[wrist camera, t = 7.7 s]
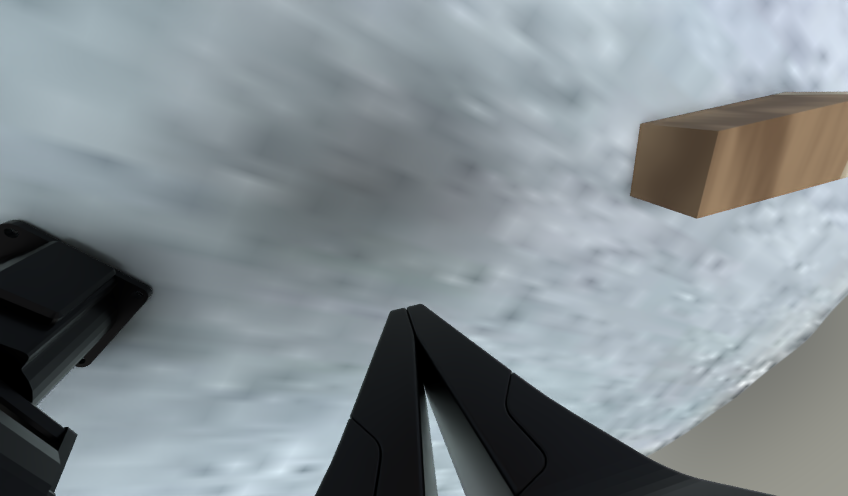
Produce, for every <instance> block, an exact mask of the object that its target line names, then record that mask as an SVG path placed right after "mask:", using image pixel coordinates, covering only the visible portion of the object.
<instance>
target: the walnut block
mask: <svg viewBox="0 0 848 496" xmlns="http://www.w3.org/2000/svg"><path fill="white" fill-rule="evenodd" d="M846 177H848V92H783V93H779V94H774V95H770V96H765V97H761V98H756V99H752V100H747V101H742V102H738V103H733V104H729V105H724V106H720V107H715V108H710V109H706V110H701V111H697V112H692V113H688V114H683V115H678V116H674V117H669V118H665V119H660V120H656V121H651V122H646V123H642V124H640V130H639V137H638V144H637V151H636V158H635V165H634V172H633V179H632V186H631V193H630V196H632V197H635V198H638V199H641V200H644V201H647V202H650V203H653V204H656V205H659V206H661V207H664V208H667V209H670V210H673V211H676V212H679V213H682V214H685V215H688V216H691V217H694V218H701V217H704V216H708V215H712V214H715V213H719V212H722V211H726V210H730V209H733V208H737V207H741V206H744V205H748V204H751V203H755V202H759V201H762V200H766V199H770V198H773V197H777V196H780V195H784V194H788V193H791V192H795V191H798V190H802V189H806V188H809V187H813V186H817V185H820V184H824V183H827V182H831V181H835V180H838V179H842V178H846Z"/></svg>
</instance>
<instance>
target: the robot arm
mask: <svg viewBox="0 0 848 496" xmlns="http://www.w3.org/2000/svg"><path fill="white" fill-rule="evenodd" d="M11 228H12V229H15V230H16V231H17V232H18V234H19V235H18V234H15V233H14V232H13V231H12V229H11ZM136 291H139V292H141V293H142V294H143V295H139V294H137V293H136ZM151 295H152V290H151V288H150V287H149V286H147V285H145V284H143V283H141V282H139V281H138V280H136V279H134V278H132V277H130V276H128V275H126V274H124V273H122V272H120V271H118V270H116V269H114V268H112V267H110V266H108V265H106V264H104V263H102V262H100V261H98V260H96V259H95V258H93V257H91V256H89V255H87V254H85V253H83V252H81V251H79V250H77V249H75V248H73V247H71V246H69V245H67V244H65V243H63V242H61V241H59V240H57V239H55V238H53V237H51V236H50V235H48V234H46V233H44V232H42V231H40V230H38V229H36V228H34V227H32V226H30V225H28V224H26V223H24V222H21V221H17V220H12V221H8V222H5V223H2V224H0V496H56V495H55V493H54V492H55V489H56V487H57V484H58V482H59V479H60V477H61V474H62V472H63V470H64V467H65V465H66V462H67V460H68V457H69V455H70V452H71V450H72V447H73V445H74V442H75V440H76V437H77V434H76V433H75V432H74V431H72V430H71V429H70V428H69V427H64V428H63V427H62V426H61V425H59V424H58V423H57V422H56V421H54V420H53V419H52V418H50V417H49V416H48V415H46V414H45V413H44V412H42V411H41V410H40V409H39V408H37V407H36V406H37V405H38V404H39V403H40V401H41V400H42V399H43V398H44V397H45V396H46V395H47V394H48V393H49V392H50V391H51V390H52V389H53V388H54V387H55V386H56V385H57V384H58V383H59V382H60V381H61V380H62V379H63V378H64V377H65V376H66V375H67V374H68V372H69V371H70V370H71V369H72V368H73V367H74V366H76V367H86V366H88V365H90V364H91V363H92V361H93V360H94V359H95V358H96V357H97V356H98V355H99V354H100V353H101V351H102V350H103V349H104V348H105V347H106V346H107V345H108V344H109V342H110V341H111V340H112V339H113V338H114V337H115V336H116V335H117V333H118V332H119V331H120V330H121V329H122V328H123V327H124V326H125V324H126V323H127V322H128V321H129V320H130V319H131V318H132V317H133V315H134V314H135V313H136V312H137V311H138V310H139V309H140V308H141V307H142V305H143V304H144V303H145V302H146V301H147V300H148V299H149V298H150V296H151ZM83 358H84V359H83ZM424 388H425V389H424ZM425 391H426V394H427V397H428V400H429V403H430V405H431V408H432V410H433V413H434V416H435V418H436V421H437V423H438V426H439V428H440V431H441V434H442V436H443V439H444V441H445V444H446V446H447V449H448V452H449V454H450V457H451V459H452V462H453V464H454V467H455V470H456V472H457V475H458V477H459V480H460V483H461V485H462V488H463V490H464V493H465V495H466V496H775V495H771V494H766V493H762V492H757V491H753V490H748V489H743V488H739V487H734V486H730V485H725V484H720V483H716V482H711V481H707V480H703V479H698V478H694V477H692V476H689V475H685V474H682V473H680V472H677V471H675V470H673V469H670V468H668V467H666V466H664V465H661V464H659V463H657V462H655V461H653V460H652V459H650V458H648V457H646V456H644V455H643V454H641V453H639V452H638V451H636V450H634V449H633V448H631V447H629V446H628V445H626V444H624V443H623V442H621V441H619V440H618V439H616V438H614V437H613V436H611V435H609V434H608V433H606V432H604V431H603V430H601V429H599V428H598V427H596V426H594V425H593V424H591V423H589V422H588V421H586V420H584V419H583V418H581V417H579V416H578V415H576V414H574V413H573V412H571V411H569V410H568V409H566V408H565V407H563V406H561V405H560V404H558V403H557V402H555V401H554V400H552V399H550V398H549V397H547V396H546V395H544V394H543V393H542V392H540V391H539V390H537V389H536V388H535V387H533V386H532V385H530V384H529V383H527V382H526V381H525V380H523V379H522V378H521V377H519V376H518V375H517V374H515V373H512V371H511V370H510V369H508V368H507V367H506V366H504V365H503V364H502V363H500V362H499V361H498V360H496V359H495V358H494V357H492V356H491V355H490V354H488V353H487V352H486V351H484V350H483V349H482V348H480V347H479V346H478V345H476V344H475V343H474V342H472V341H471V340H470V339H468V338H467V337H466V336H464V335H463V334H462V333H460V332H459V331H458V330H456V329H455V328H454V327H452V326H451V325H450V324H448V323H447V322H446V321H444V320H443V319H442V318H440V317H439V316H438V315H436V314H435V313H434V312H432V311H431V310H430V309H428V308H427V307H426V306H424V305H423V304H418V305H413V306H409V307H408V308H407V310H406V309H405V308H401V309H397V310H393V311H391V312H390V313H389V316H388V319H387V321H386V324H385V326H384V329H383V332H382V334H381V337H380V339H379V342H378V345H377V347H376V350H375V352H374V355H373V358H372V360H371V363H370V365H369V368H368V371H367V373H366V376H365V378H364V381H363V384H362V386H361V389H360V391H359V394H358V397H357V399H356V402H355V404H354V407H353V410H352V412H351V415H350V419H349V420H348V422H347V425H346V427H345V430H344V433H343V435H342V438H341V440H340V443H339V445H338V447H337V450H336V452H335V454H334V457H333V459H332V462H331V464H330V466H329V468H328V470H327V472H326V474H325V476H324V478H323V480H322V482H321V484H320V486H319V488H318V490H317V493H316V494H315V496H438V493H437V485H436V476H435V468H434V460H433V451H432V443H431V435H430V427H429V418H428V410H427V402H426V395H425Z"/></svg>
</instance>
